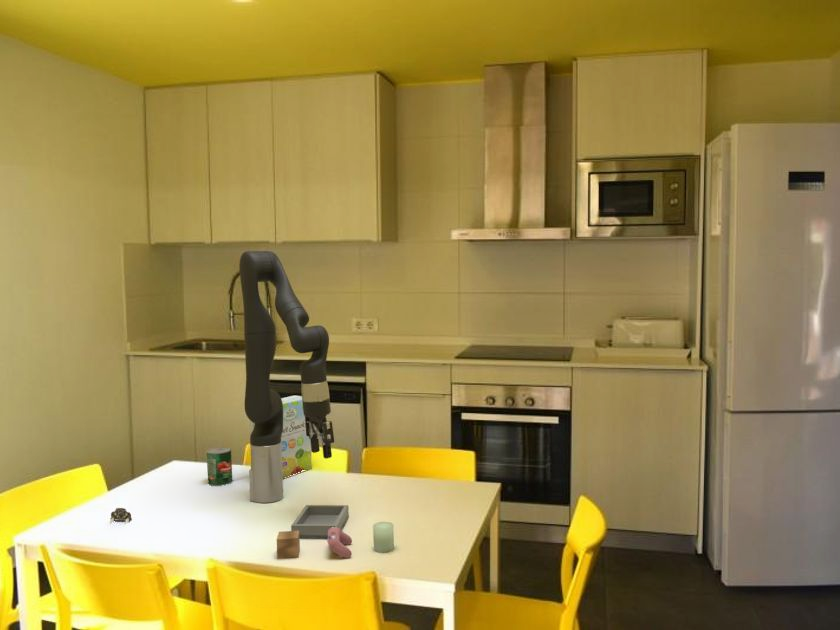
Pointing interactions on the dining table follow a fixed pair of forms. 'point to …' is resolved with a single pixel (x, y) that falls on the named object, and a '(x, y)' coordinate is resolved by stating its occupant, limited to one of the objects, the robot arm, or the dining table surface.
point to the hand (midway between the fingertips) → (321, 455)
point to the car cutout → (120, 516)
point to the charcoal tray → (320, 520)
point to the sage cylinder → (383, 537)
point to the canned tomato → (219, 466)
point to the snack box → (293, 437)
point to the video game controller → (339, 542)
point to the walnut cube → (288, 544)
